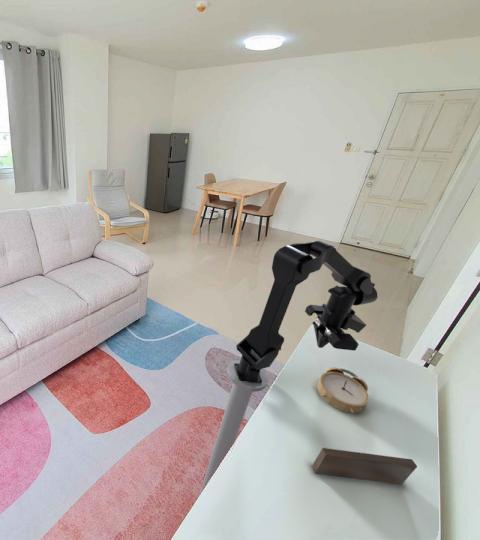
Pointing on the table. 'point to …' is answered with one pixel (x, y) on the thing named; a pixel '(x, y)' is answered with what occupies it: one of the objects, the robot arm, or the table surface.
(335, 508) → the table surface
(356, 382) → the alarm clock
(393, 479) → the shelf back
